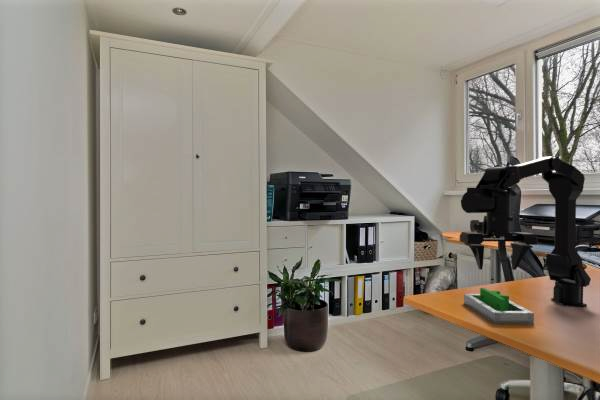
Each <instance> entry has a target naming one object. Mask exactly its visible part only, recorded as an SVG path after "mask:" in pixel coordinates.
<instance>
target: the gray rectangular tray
mask: <svg viewBox="0 0 600 400" xmlns="http://www.w3.org/2000/svg"><path fill="white" fill-rule="evenodd" d="M463 304H464V305H466V306H467V307H469V308H470V309H472V310H473V311H475V312H476V313H477V314H479V315H480V316H481V317H483V318H485V320H487V321H489V322H490V323H492V324H493V325H534V324H535V323H534V322H535V313H534V311H531V310H529V309H527V308H525V307H523V306H522V305H519V304H518V303H516V302H514V301H512V300H510V299H509V311H496V310H495V309H493V308H491V307H490V306H488V305H487V304H485V303H483V302H482V301H480V293H464V294H463Z"/></svg>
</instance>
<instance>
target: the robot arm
mask: <svg viewBox="0 0 600 400" xmlns="http://www.w3.org/2000/svg"><path fill="white" fill-rule="evenodd" d="M536 175H541V178H542V180H544V181H545V182H546V183H548V184H547V185H548V191H549V193H550V194H551V196H552V197H553V199H554V201H555V202H554V248H553V249H552V251H551V252H550V253H546V256H545V257H546V263H545V267H546V269H547V273H548V276H549V277H548V278H549V280H550V281H554V286H553V294H552V295H553V297H551V298H550V300H551V301H554V302H555V303H558V304H560V305H563V306H565V307H588V304H587V303H584V287H585V288H587V287H588V286H589V287H590V283H591V277H590V275H589V274H588V273H587V272H586V270H585V269H584V264H583V260H582V257H581V255H580V254H579V253H578V251H577V249H576V236H577V235H576V224H577V223H576V220H577V218H576V217H577V216H576V214H577V200H578V198H579V197H580V196H581V194H582V193H583V191H584V184H585V181H586V179H585V175H584V173H583V172H582V171H581V170H579V169H578V168H577V167H576V166H574V165H572V164H570V163H568V162H565V161H563V160H562V159H561V158H560V157H558V156H556V155H552V156H551V155H550V156H542V157H538V158H537V159H533V160H529V161H526V162H523V163H518V164H515V165H508V166H507V165H506V166H504V165H503V166H493V167H492V166H491V167H488V168H486V169H485V170H484V173H483V175H482V176H481V178H480V180H479V181H478V183H477V185H476V186H475V187H466V192H464V194H463V195H462V197H461V199H460V206H461V209H462V210H463V211H464V213H466V214H483V213H484V214H486V215H483V221H480V220H479V219H471V220H470V222H469V228H470V229H469V230H470V231H462V232H461V233H460V234H459V243H460V242H461V243H464V245H465V246H468V247H469V248H470V250H471V252H472V254H473V256H474V257H473V258H474V259H475V262H476V265H477V268H478V270H480V271H481V270H483V267H484V257H485V256H484V255H485V253H484V252H485V245H482V244H483V242H510V247H511V250H512V251H511V253H512V254H511V269H512V271H515V270H517V269H518V267H519V264H520V263H521V261H522V259H523V258H524V256H525V255H526V254H527V252H528V251H529V250H530V249H533V247H534V246H533V245H535V246H537V245H539V244H538V243H539V241H538V240H539V237H538V236H537V235H536V233H533V232H532V233H531V232H525V231H523V232H522V231H511V222H513V221H514V217H513V216H511V203H512V202H511V197H517V196H518V193H517V192H515V190H513V189H512V187H513V186H515V185H517V184H519V183H520V182H521V180H523V179H525V178H526V179H527V178H530V177H532V176H533V177H534V176H536Z"/></svg>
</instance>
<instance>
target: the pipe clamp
mask: <svg viewBox="0 0 600 400" xmlns="http://www.w3.org/2000/svg"><path fill="white" fill-rule="evenodd" d="M479 292H480V293H479V294H480V301H482V302H483V303H485V304H487V305H488V306H490V307H491V308H493V309H495V310H496V311H509V300H510V296H509V295H508V294H507V295H505V294H501V291H499V290H488V289H487V288H485V287H480V289H479Z"/></svg>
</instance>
